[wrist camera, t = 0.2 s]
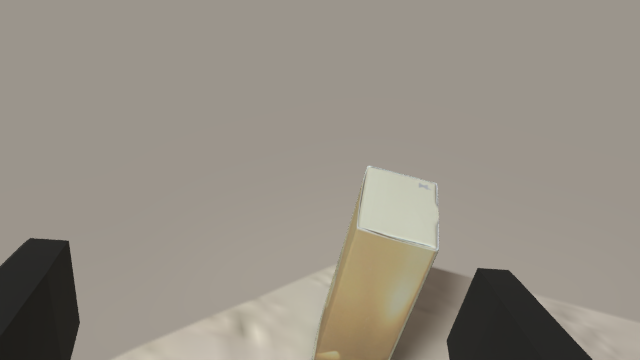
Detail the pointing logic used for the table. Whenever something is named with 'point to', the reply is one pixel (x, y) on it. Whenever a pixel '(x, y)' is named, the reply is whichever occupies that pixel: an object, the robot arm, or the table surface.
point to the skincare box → (380, 267)
